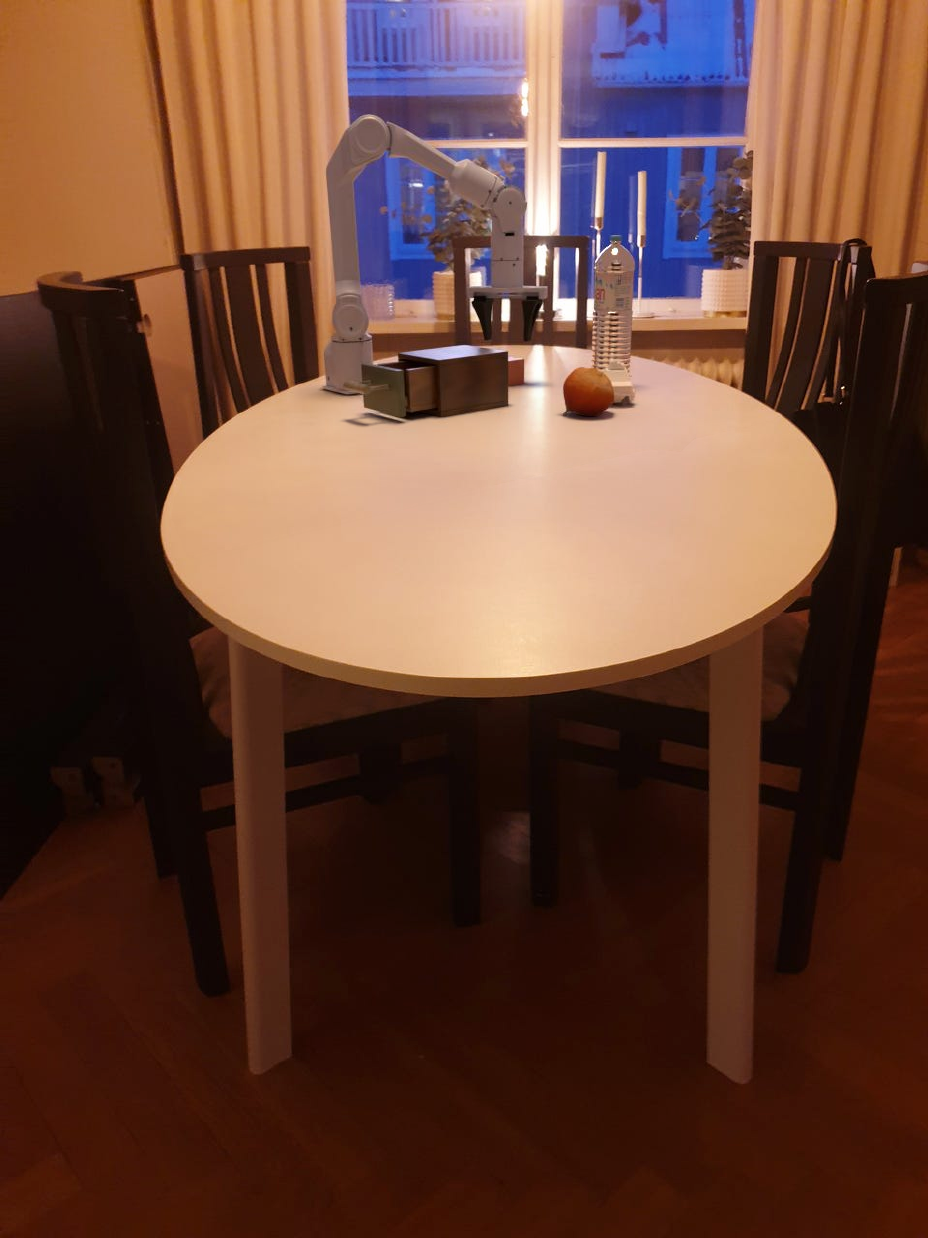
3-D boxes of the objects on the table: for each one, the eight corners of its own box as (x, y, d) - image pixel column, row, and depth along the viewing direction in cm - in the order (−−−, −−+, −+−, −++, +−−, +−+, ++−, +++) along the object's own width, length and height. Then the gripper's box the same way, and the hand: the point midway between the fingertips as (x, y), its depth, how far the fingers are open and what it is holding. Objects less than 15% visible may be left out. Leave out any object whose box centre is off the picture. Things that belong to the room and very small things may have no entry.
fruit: (561, 397, 144) (587, 354, 140) (601, 426, 143) (628, 383, 139) (543, 406, 138) (569, 362, 133) (584, 436, 137) (612, 392, 132)
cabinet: (441, 416, 140) (439, 359, 137) (400, 406, 149) (397, 352, 145) (508, 405, 148) (508, 351, 144) (465, 396, 156) (464, 344, 153)
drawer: (373, 421, 134) (370, 374, 131) (338, 411, 141) (334, 367, 139) (465, 406, 143) (464, 362, 140) (427, 397, 151) (426, 355, 148)
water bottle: (590, 383, 165) (595, 235, 155) (628, 383, 164) (635, 234, 154) (590, 390, 159) (595, 236, 148) (629, 390, 158) (637, 235, 148)
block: (490, 383, 168) (490, 358, 166) (509, 380, 170) (509, 356, 168) (505, 386, 165) (505, 361, 163) (524, 383, 167) (524, 358, 165)
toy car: (630, 394, 154) (632, 353, 151) (636, 407, 143) (638, 363, 141) (594, 394, 155) (596, 353, 152) (598, 407, 144) (599, 364, 141)
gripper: (460, 261, 158) (462, 341, 163) (539, 260, 153) (538, 343, 158) (475, 259, 164) (476, 337, 169) (551, 258, 159) (550, 339, 164)
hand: (507, 340), depth 164 cm, fingers open, 7 cm apart
